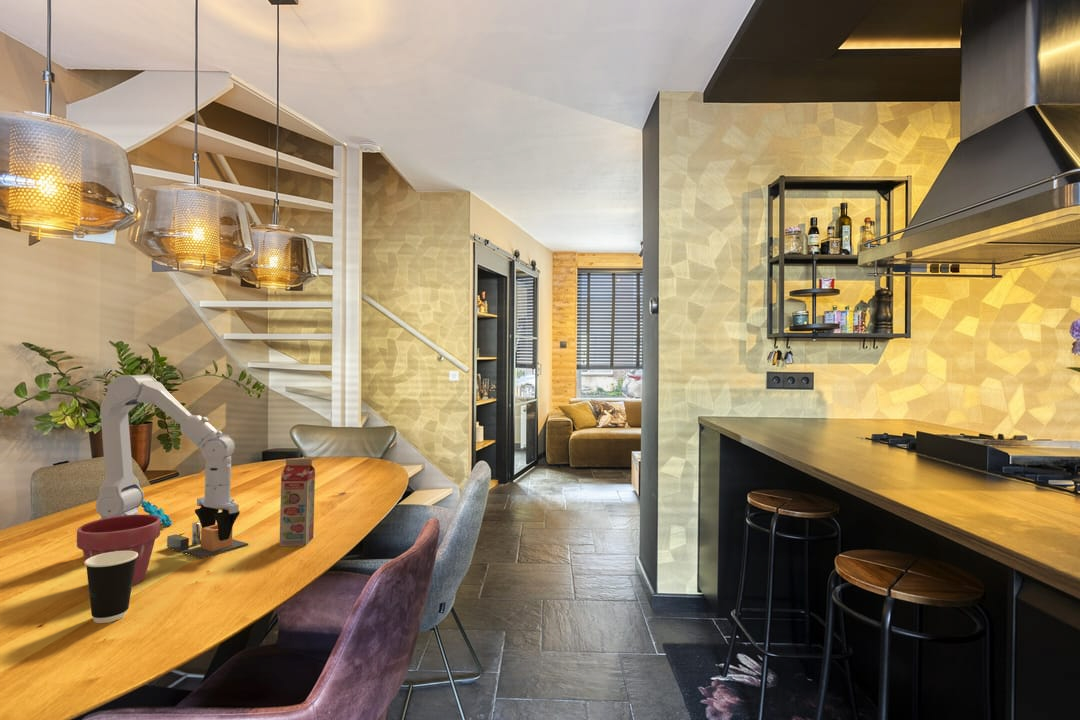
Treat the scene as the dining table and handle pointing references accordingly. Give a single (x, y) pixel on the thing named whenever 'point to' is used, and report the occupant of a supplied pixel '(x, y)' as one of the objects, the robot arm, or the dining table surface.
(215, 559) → the dining table surface
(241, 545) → the panel
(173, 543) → the vise
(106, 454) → the robot arm
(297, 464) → the juice carton
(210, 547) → the collar
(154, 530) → the plant pot
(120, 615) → the dixie cup
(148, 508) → the gear
